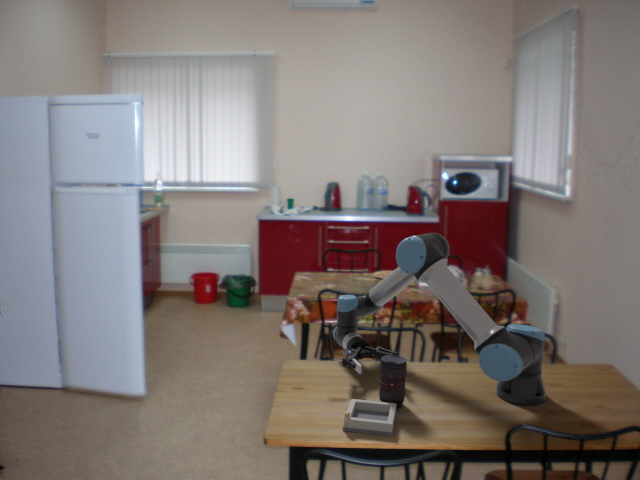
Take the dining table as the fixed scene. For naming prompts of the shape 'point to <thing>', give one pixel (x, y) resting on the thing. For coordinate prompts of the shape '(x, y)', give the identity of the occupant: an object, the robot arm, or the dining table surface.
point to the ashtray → (370, 417)
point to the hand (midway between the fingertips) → (380, 367)
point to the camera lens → (392, 379)
